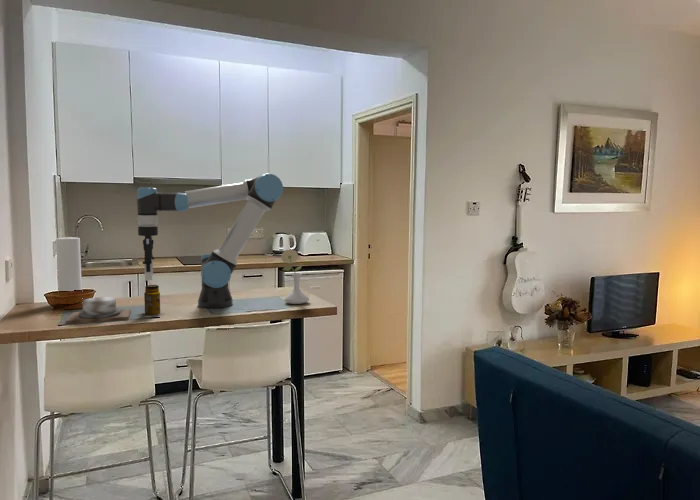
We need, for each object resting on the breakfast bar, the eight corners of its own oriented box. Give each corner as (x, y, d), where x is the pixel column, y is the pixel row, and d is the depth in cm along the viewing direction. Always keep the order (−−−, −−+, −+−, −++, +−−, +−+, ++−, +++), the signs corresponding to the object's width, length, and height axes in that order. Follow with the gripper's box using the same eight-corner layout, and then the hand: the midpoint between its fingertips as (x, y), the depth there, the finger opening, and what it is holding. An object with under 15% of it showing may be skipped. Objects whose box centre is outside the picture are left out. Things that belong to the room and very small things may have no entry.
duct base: (131, 311, 222) (130, 295, 221) (128, 319, 208) (127, 301, 207) (72, 315, 215) (71, 297, 214) (66, 323, 201) (65, 305, 200)
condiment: (165, 313, 219) (164, 285, 218) (148, 317, 212) (147, 288, 211) (152, 311, 223) (151, 283, 222) (136, 315, 216) (135, 286, 214)
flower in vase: (311, 301, 247) (311, 248, 245) (306, 306, 236) (306, 250, 234) (283, 300, 249) (283, 247, 246) (278, 305, 237) (277, 250, 235)
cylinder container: (72, 305, 234) (69, 238, 232) (54, 304, 236) (51, 237, 233) (87, 301, 244) (84, 236, 241) (69, 300, 246) (66, 236, 243)
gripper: (139, 224, 224) (140, 273, 226) (136, 227, 201) (137, 282, 203) (158, 224, 227) (159, 273, 229) (157, 227, 203) (158, 281, 205)
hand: (149, 277), depth 216 cm, fingers open, 13 cm apart
